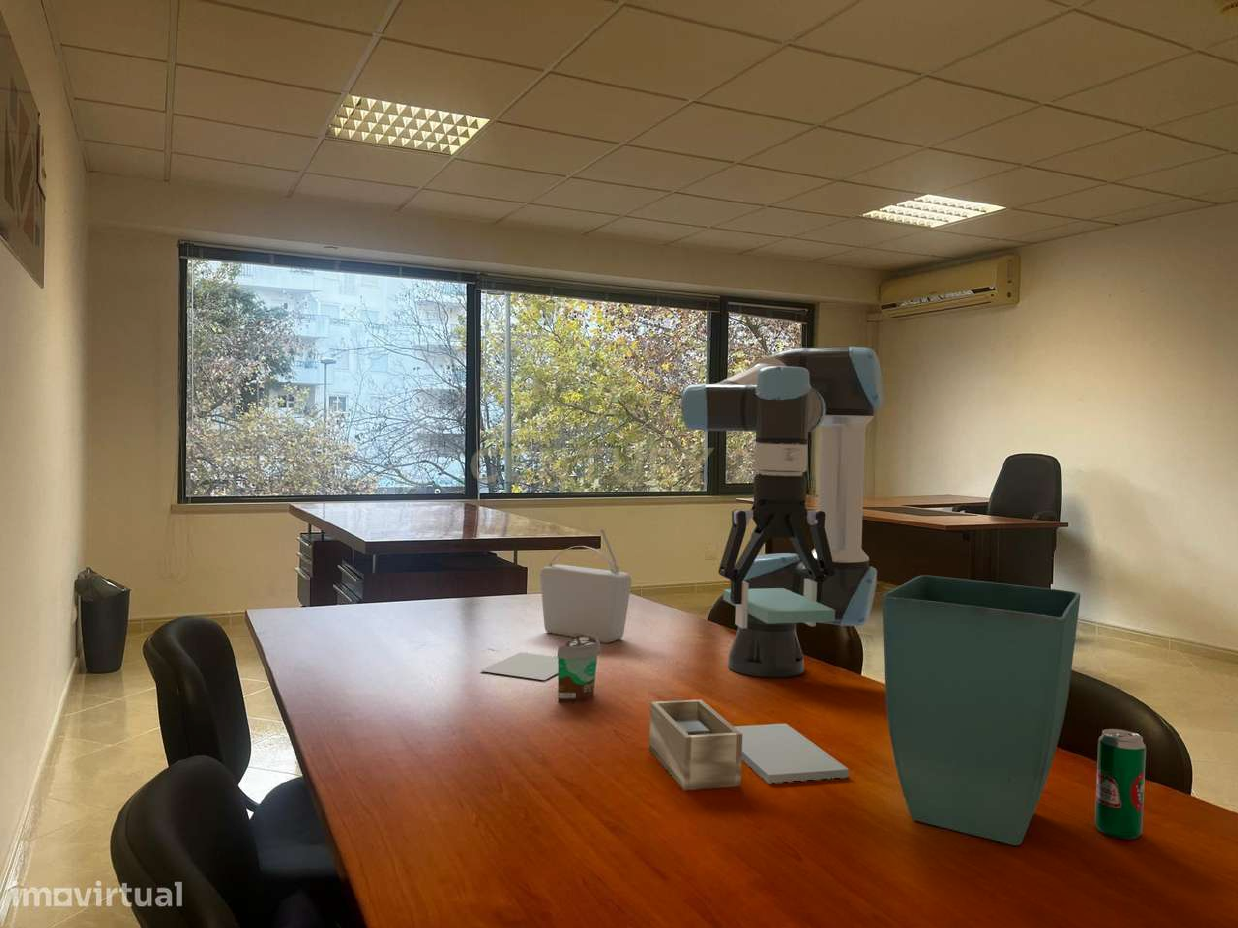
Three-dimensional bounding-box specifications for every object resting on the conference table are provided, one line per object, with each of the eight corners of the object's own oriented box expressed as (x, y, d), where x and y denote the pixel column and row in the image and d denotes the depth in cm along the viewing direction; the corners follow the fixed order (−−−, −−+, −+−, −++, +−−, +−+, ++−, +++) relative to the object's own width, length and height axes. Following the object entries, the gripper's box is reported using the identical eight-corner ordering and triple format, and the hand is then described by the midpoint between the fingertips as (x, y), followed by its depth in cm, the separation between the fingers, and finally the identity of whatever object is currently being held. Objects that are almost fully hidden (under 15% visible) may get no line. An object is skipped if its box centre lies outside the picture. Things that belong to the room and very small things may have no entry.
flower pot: (1052, 872, 98) (1064, 615, 97) (870, 825, 109) (879, 593, 108) (1071, 810, 115) (1081, 591, 114) (912, 775, 126) (920, 574, 125)
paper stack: (437, 668, 177) (437, 664, 177) (500, 642, 200) (500, 639, 200) (544, 683, 168) (544, 679, 168) (597, 655, 191) (597, 651, 191)
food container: (591, 707, 153) (592, 649, 153) (556, 704, 154) (557, 646, 154) (606, 688, 165) (608, 634, 165) (574, 685, 166) (575, 631, 166)
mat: (785, 730, 143) (786, 723, 143) (848, 777, 124) (848, 769, 124) (715, 735, 140) (715, 727, 140) (768, 783, 121) (768, 774, 121)
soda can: (1085, 823, 111) (1089, 727, 111) (1124, 822, 112) (1128, 727, 111) (1111, 841, 106) (1115, 741, 106) (1151, 841, 107) (1156, 741, 106)
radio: (634, 639, 205) (637, 530, 205) (615, 645, 198) (618, 533, 198) (557, 626, 217) (560, 523, 216) (536, 631, 210) (539, 525, 209)
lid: (783, 598, 141) (783, 588, 141) (834, 621, 124) (834, 609, 124) (723, 599, 138) (723, 589, 138) (767, 623, 122) (767, 611, 122)
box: (699, 745, 135) (701, 699, 135) (740, 785, 120) (742, 734, 120) (648, 748, 133) (650, 701, 133) (683, 790, 118) (685, 737, 118)
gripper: (715, 473, 124) (711, 633, 125) (863, 475, 130) (858, 628, 131) (698, 471, 131) (693, 621, 132) (838, 473, 137) (833, 617, 138)
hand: (775, 625), depth 131 cm, fingers closed on lid, 10 cm apart
